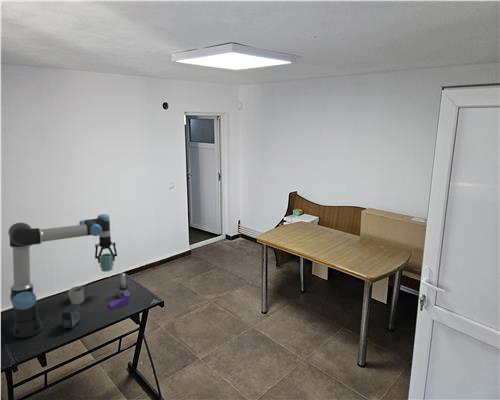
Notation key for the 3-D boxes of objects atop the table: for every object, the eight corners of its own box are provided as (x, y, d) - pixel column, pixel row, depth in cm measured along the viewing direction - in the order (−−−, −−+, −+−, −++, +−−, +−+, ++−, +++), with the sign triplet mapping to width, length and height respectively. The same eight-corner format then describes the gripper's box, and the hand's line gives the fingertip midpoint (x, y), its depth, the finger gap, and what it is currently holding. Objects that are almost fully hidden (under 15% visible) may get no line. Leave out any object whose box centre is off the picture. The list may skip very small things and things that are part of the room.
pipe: (120, 296, 248) (119, 275, 245) (120, 293, 252) (119, 273, 249) (127, 295, 250) (126, 274, 247) (127, 292, 254) (125, 272, 251)
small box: (71, 318, 220) (70, 303, 218) (81, 319, 220) (80, 304, 218) (62, 327, 210) (60, 312, 208) (72, 328, 209) (71, 312, 207)
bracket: (126, 300, 245) (125, 291, 244) (129, 304, 239) (128, 295, 238) (108, 305, 238) (108, 296, 237) (111, 309, 233) (110, 300, 231)
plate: (118, 299, 246) (118, 297, 246) (118, 294, 253) (117, 293, 253) (130, 297, 249) (130, 295, 249) (129, 292, 256) (129, 291, 256)
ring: (119, 290, 246) (119, 288, 246) (119, 287, 251) (118, 285, 251) (128, 289, 249) (128, 286, 248) (127, 286, 254) (127, 283, 254)
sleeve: (101, 272, 242) (100, 257, 240) (101, 268, 248) (100, 254, 246) (112, 270, 245) (111, 256, 243) (112, 267, 251) (111, 252, 249)
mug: (85, 302, 241) (84, 289, 239) (70, 306, 235) (69, 293, 234) (83, 296, 250) (81, 283, 248) (68, 300, 244) (67, 287, 242)
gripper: (89, 238, 234) (91, 270, 239) (120, 235, 243) (122, 266, 247) (89, 236, 241) (91, 266, 245) (119, 233, 249) (121, 262, 254)
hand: (106, 266), depth 246 cm, fingers closed on sleeve, 7 cm apart
